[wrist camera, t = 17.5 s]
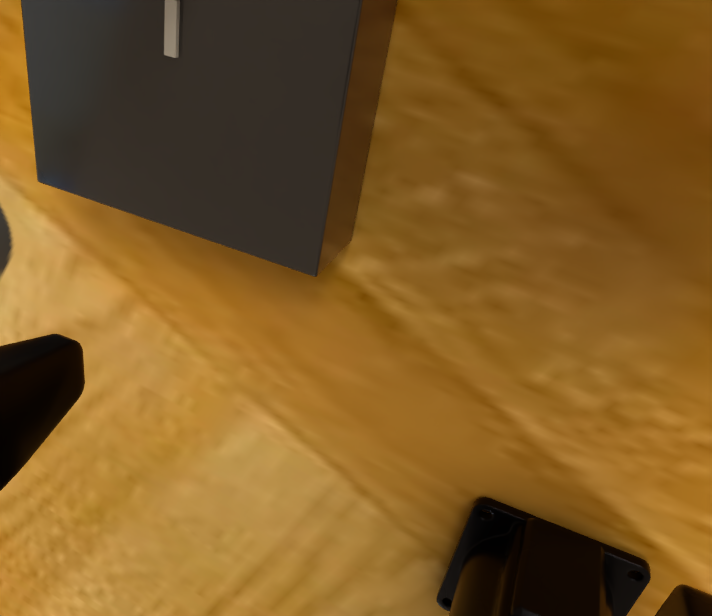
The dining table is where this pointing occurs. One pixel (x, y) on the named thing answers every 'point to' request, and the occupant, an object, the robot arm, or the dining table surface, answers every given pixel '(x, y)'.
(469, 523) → the robot arm
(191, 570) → the dining table surface
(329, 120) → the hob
